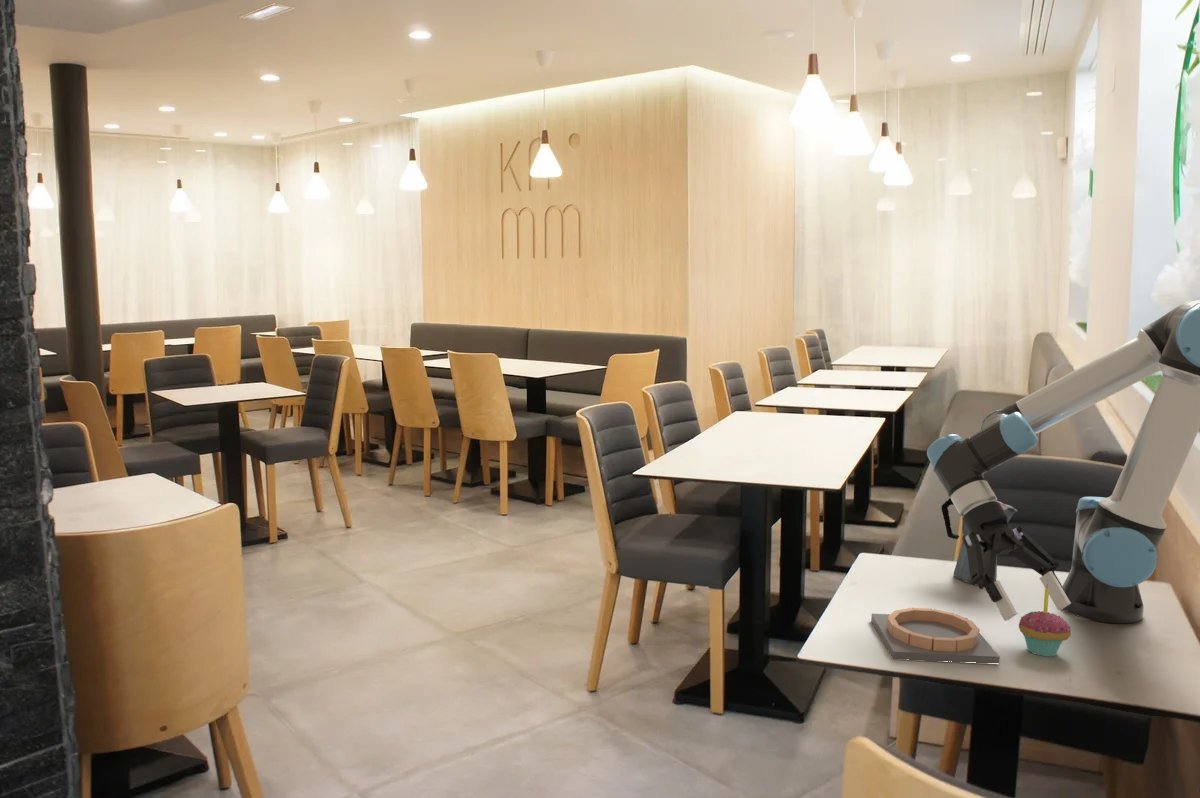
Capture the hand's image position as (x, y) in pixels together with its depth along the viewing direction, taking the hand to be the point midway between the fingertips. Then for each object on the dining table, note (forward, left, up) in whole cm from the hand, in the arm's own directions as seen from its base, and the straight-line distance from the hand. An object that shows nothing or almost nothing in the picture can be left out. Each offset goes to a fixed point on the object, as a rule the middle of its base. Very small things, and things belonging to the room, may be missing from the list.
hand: (1038, 612), depth 169 cm
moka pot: (-1, -39, -7) cm, 39 cm away
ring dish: (+18, -2, -7) cm, 19 cm away
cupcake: (-1, 0, -7) cm, 7 cm away
